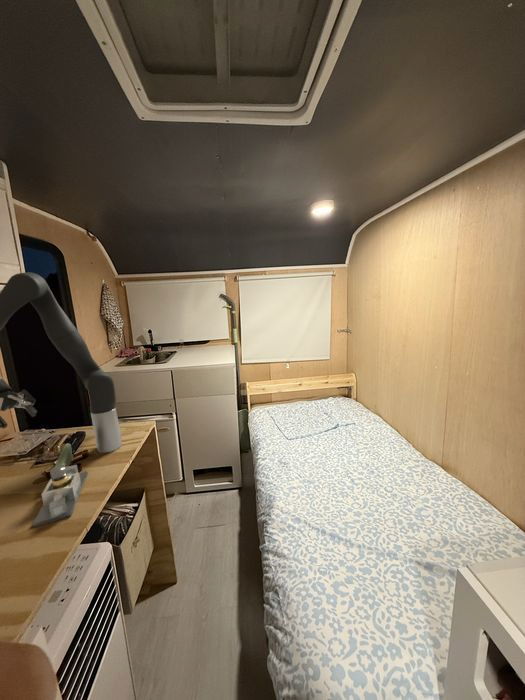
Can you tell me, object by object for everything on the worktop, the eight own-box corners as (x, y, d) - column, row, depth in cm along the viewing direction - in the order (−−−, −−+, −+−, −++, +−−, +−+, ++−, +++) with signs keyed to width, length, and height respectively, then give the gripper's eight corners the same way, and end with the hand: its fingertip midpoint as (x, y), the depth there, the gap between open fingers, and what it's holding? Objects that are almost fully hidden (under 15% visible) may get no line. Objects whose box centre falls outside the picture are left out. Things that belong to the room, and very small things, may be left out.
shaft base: (58, 480, 98) (55, 467, 97) (87, 473, 101) (85, 461, 100) (33, 527, 78) (29, 511, 77) (70, 516, 81) (67, 501, 80)
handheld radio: (53, 490, 94) (67, 454, 116) (64, 487, 95) (77, 452, 118) (49, 472, 93) (65, 439, 115) (61, 469, 94) (74, 437, 117)
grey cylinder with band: (61, 490, 91) (55, 465, 90) (73, 489, 92) (68, 464, 90) (52, 498, 88) (46, 473, 86) (65, 497, 88) (59, 472, 86)
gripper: (-35, 385, 85) (-2, 423, 84) (17, 372, 98) (47, 405, 97) (-41, 400, 88) (-9, 438, 87) (11, 386, 101) (40, 418, 100)
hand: (20, 420), depth 92 cm, fingers open, 8 cm apart
